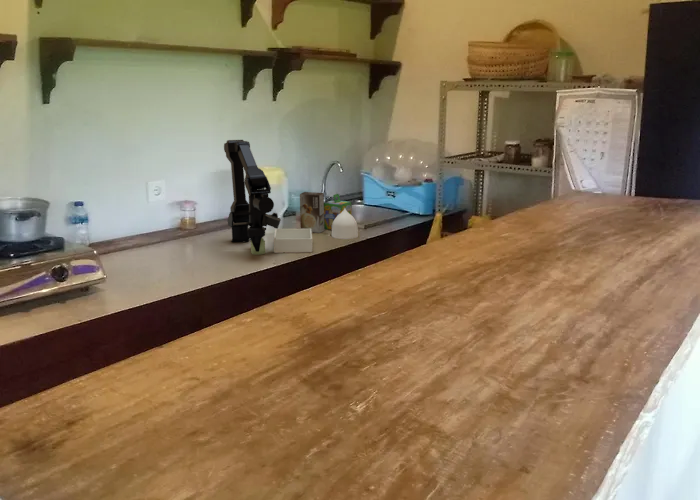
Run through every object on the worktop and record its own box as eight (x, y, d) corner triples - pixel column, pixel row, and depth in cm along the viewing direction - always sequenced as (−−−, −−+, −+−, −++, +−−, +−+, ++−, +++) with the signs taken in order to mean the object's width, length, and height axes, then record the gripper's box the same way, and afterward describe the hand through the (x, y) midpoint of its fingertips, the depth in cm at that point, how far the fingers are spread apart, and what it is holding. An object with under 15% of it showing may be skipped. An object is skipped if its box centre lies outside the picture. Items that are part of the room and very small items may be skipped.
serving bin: (274, 252, 252) (273, 239, 251) (275, 241, 269) (275, 228, 268) (312, 252, 254) (312, 238, 252) (311, 241, 270) (311, 228, 269)
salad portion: (250, 254, 249) (250, 239, 248) (251, 251, 254) (251, 236, 253) (264, 254, 250) (264, 239, 248) (265, 250, 255) (265, 235, 253)
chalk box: (341, 231, 287) (341, 197, 283) (323, 229, 291) (323, 195, 287) (352, 227, 294) (352, 193, 291) (334, 225, 299) (334, 192, 295)
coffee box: (325, 229, 290) (325, 192, 286) (320, 233, 284) (320, 195, 280) (305, 228, 292) (304, 191, 288) (299, 231, 286) (299, 193, 282)
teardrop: (353, 232, 286) (353, 204, 283) (361, 238, 276) (362, 209, 273) (328, 233, 283) (328, 205, 280) (335, 240, 273) (335, 210, 270)
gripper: (278, 213, 239) (279, 255, 243) (279, 203, 257) (280, 243, 261) (246, 213, 239) (247, 256, 243) (250, 203, 257) (251, 243, 261)
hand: (258, 249), depth 252 cm, fingers closed on salad portion, 5 cm apart
